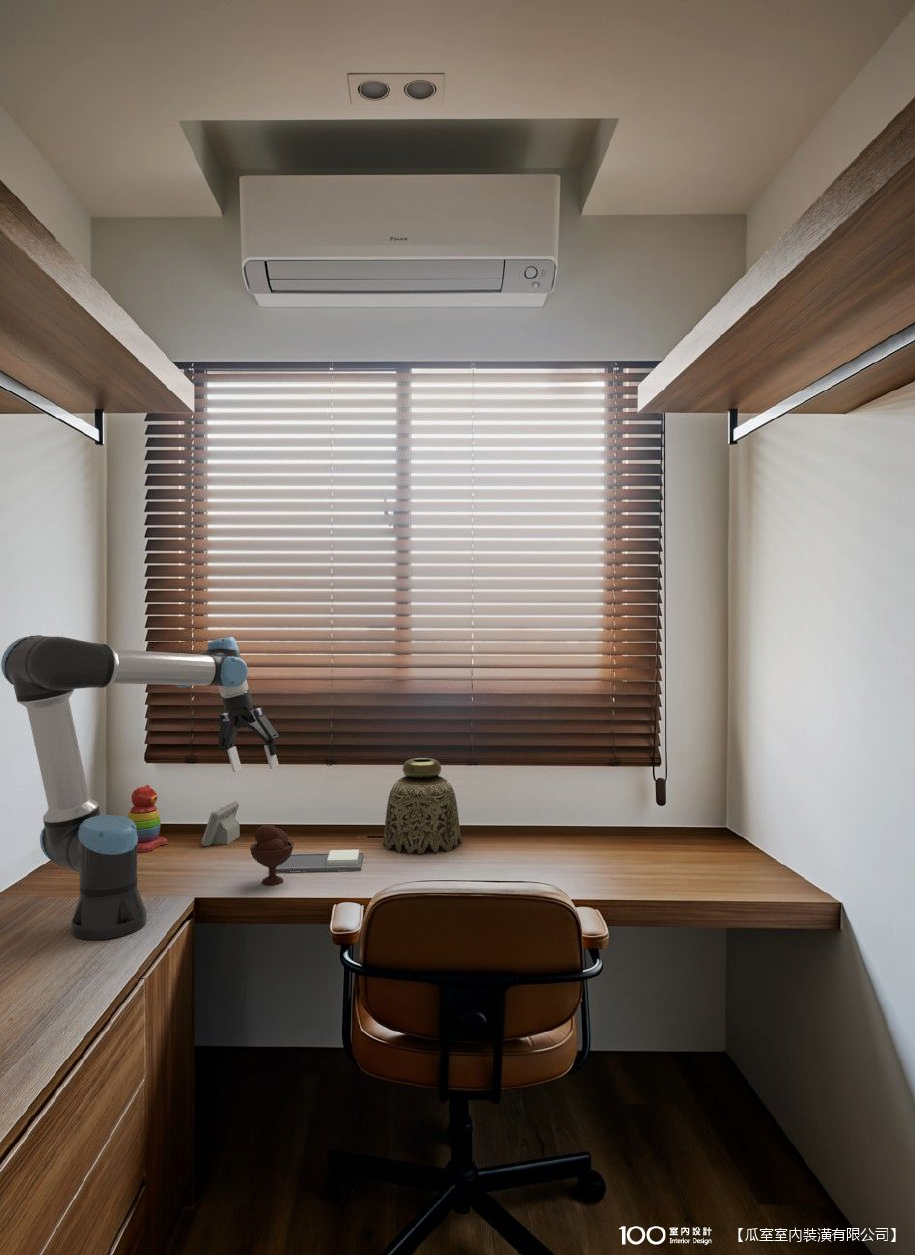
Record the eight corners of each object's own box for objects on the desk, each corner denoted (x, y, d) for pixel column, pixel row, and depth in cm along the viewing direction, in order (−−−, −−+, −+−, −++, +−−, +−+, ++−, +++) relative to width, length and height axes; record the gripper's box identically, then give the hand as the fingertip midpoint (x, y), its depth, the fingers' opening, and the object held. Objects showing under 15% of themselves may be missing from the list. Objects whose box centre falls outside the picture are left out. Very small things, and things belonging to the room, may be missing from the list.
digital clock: (225, 832, 253) (225, 798, 253) (250, 835, 250) (249, 800, 250) (192, 846, 238) (191, 810, 238) (217, 849, 235) (217, 813, 235)
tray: (269, 872, 213) (269, 868, 213) (277, 858, 226) (277, 854, 226) (360, 870, 215) (360, 866, 214) (363, 856, 227) (363, 852, 227)
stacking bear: (146, 853, 231) (145, 791, 231) (117, 850, 234) (117, 789, 234) (171, 843, 241) (170, 784, 241) (143, 840, 245) (142, 781, 244)
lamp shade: (454, 856, 227) (453, 768, 226) (374, 853, 230) (374, 766, 230) (466, 834, 250) (465, 754, 249) (394, 831, 253) (393, 752, 253)
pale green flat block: (327, 866, 215) (327, 860, 215) (330, 855, 225) (330, 849, 225) (357, 865, 216) (357, 859, 216) (359, 854, 226) (359, 848, 226)
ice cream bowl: (284, 890, 199) (283, 830, 199) (242, 887, 202) (242, 828, 201) (301, 876, 210) (300, 819, 209) (261, 874, 212) (260, 817, 212)
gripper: (279, 684, 214) (299, 760, 216) (212, 695, 226) (232, 767, 228) (260, 692, 208) (281, 770, 210) (192, 703, 220) (213, 776, 222)
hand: (255, 768), depth 219 cm, fingers open, 13 cm apart
